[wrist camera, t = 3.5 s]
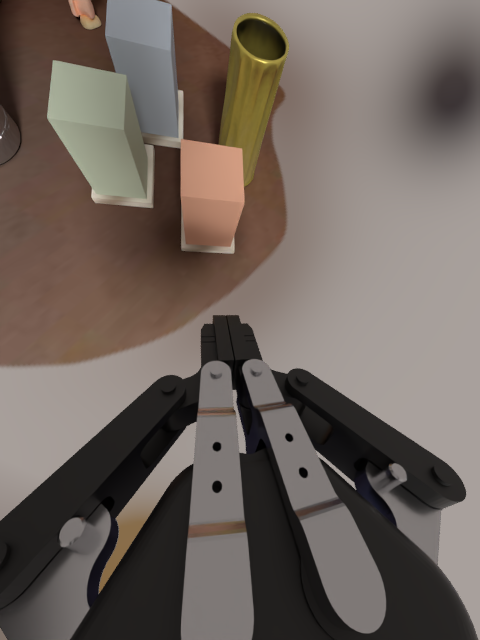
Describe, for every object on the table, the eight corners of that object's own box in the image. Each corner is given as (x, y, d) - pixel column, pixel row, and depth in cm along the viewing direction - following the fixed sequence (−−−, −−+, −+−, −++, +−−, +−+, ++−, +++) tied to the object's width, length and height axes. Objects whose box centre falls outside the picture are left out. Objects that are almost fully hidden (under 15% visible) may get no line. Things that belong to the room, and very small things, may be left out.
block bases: (92, 245, 27) (88, 241, 26) (102, 83, 30) (99, 74, 29) (233, 253, 31) (234, 250, 30) (228, 107, 34) (229, 100, 33)
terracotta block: (185, 244, 28) (180, 196, 19) (185, 202, 29) (180, 139, 20) (230, 246, 29) (244, 202, 21) (229, 207, 30) (242, 148, 21)
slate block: (132, 130, 29) (105, 35, 20) (134, 93, 30) (108, -14, 21) (178, 138, 30) (170, 51, 21) (178, 102, 31) (171, 4, 22)
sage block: (96, 193, 27) (47, 117, 18) (98, 152, 28) (53, 60, 19) (146, 199, 28) (123, 129, 19) (147, 158, 29) (126, 75, 20)
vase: (232, 145, 33) (258, -2, 19) (261, 173, 33) (306, 48, 20) (206, 167, 32) (212, 25, 18) (236, 196, 32) (266, 78, 18)
